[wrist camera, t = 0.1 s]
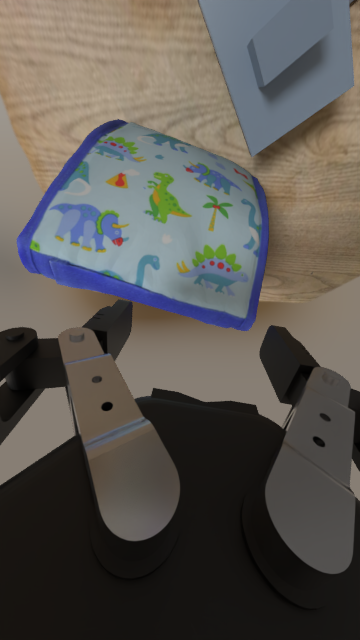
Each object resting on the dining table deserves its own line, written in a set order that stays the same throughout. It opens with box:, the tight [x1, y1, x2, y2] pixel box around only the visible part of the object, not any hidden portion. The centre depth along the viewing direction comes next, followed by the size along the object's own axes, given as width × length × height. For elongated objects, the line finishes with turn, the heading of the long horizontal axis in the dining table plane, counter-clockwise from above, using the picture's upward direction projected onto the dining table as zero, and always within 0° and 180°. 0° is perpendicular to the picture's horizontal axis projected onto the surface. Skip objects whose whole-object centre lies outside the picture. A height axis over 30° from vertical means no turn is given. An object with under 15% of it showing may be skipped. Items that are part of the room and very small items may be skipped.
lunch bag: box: [17, 119, 269, 331], centre depth 27 cm, size 22×17×26 cm
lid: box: [198, 0, 354, 157], centre depth 18 cm, size 13×10×6 cm
